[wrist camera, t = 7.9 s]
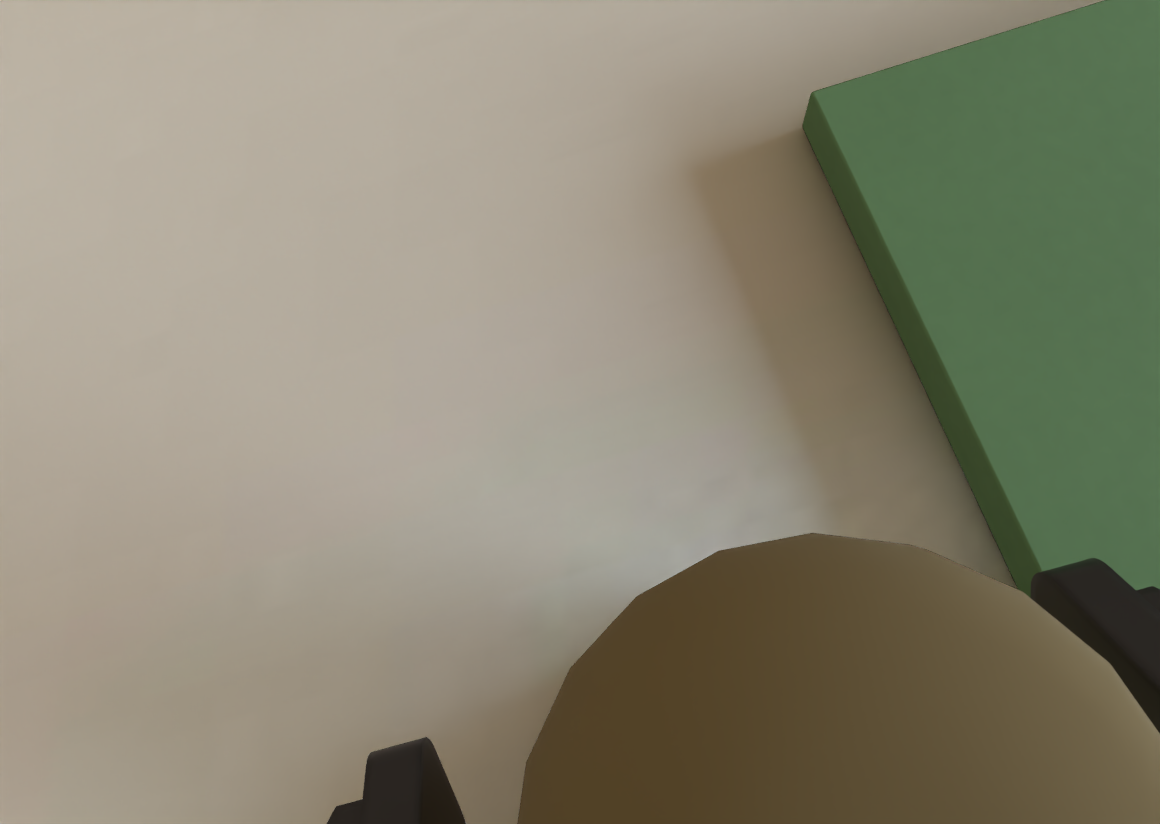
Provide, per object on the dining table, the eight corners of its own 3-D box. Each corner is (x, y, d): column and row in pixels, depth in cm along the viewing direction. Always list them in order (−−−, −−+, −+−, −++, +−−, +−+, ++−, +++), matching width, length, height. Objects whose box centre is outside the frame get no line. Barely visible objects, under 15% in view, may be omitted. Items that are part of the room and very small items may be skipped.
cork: (565, 972, 15) (391, 1545, 5) (560, 606, 17) (426, 453, 7) (933, 970, 15) (1593, 1587, 5) (887, 597, 17) (1282, 420, 6)
